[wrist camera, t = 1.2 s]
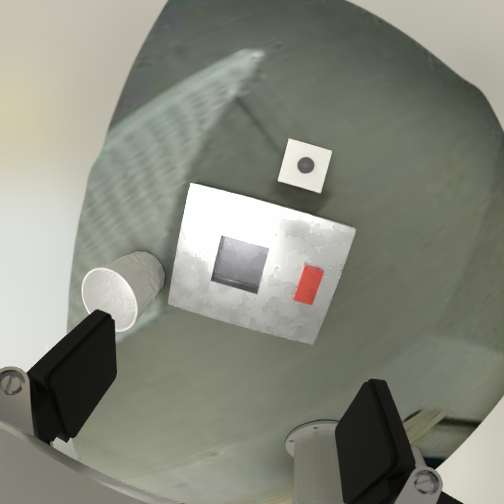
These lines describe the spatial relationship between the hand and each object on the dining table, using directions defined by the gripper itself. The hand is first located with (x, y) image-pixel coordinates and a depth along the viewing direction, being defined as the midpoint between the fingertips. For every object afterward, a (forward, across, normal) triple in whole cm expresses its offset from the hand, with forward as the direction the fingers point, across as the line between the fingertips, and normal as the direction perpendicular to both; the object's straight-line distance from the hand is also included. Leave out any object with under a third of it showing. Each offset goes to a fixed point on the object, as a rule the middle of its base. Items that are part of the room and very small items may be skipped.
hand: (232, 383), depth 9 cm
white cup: (+28, +15, +11) cm, 33 cm away
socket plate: (+28, 0, +5) cm, 28 cm away
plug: (+28, -2, -8) cm, 29 cm away
